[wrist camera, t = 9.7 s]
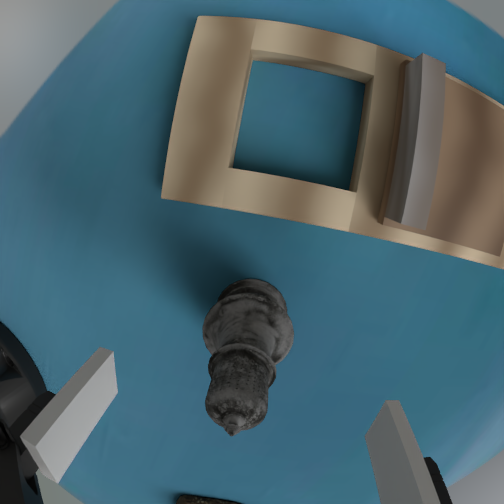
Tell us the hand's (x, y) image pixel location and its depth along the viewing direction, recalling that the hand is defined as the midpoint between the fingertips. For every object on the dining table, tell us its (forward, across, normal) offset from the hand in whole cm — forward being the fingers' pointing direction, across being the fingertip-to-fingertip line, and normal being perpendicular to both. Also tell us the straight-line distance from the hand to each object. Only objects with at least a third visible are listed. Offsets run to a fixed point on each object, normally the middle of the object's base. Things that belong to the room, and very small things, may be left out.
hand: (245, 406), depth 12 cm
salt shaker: (+10, +1, 0) cm, 10 cm away
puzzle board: (+10, -6, -14) cm, 18 cm away
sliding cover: (+8, -12, -14) cm, 20 cm away
